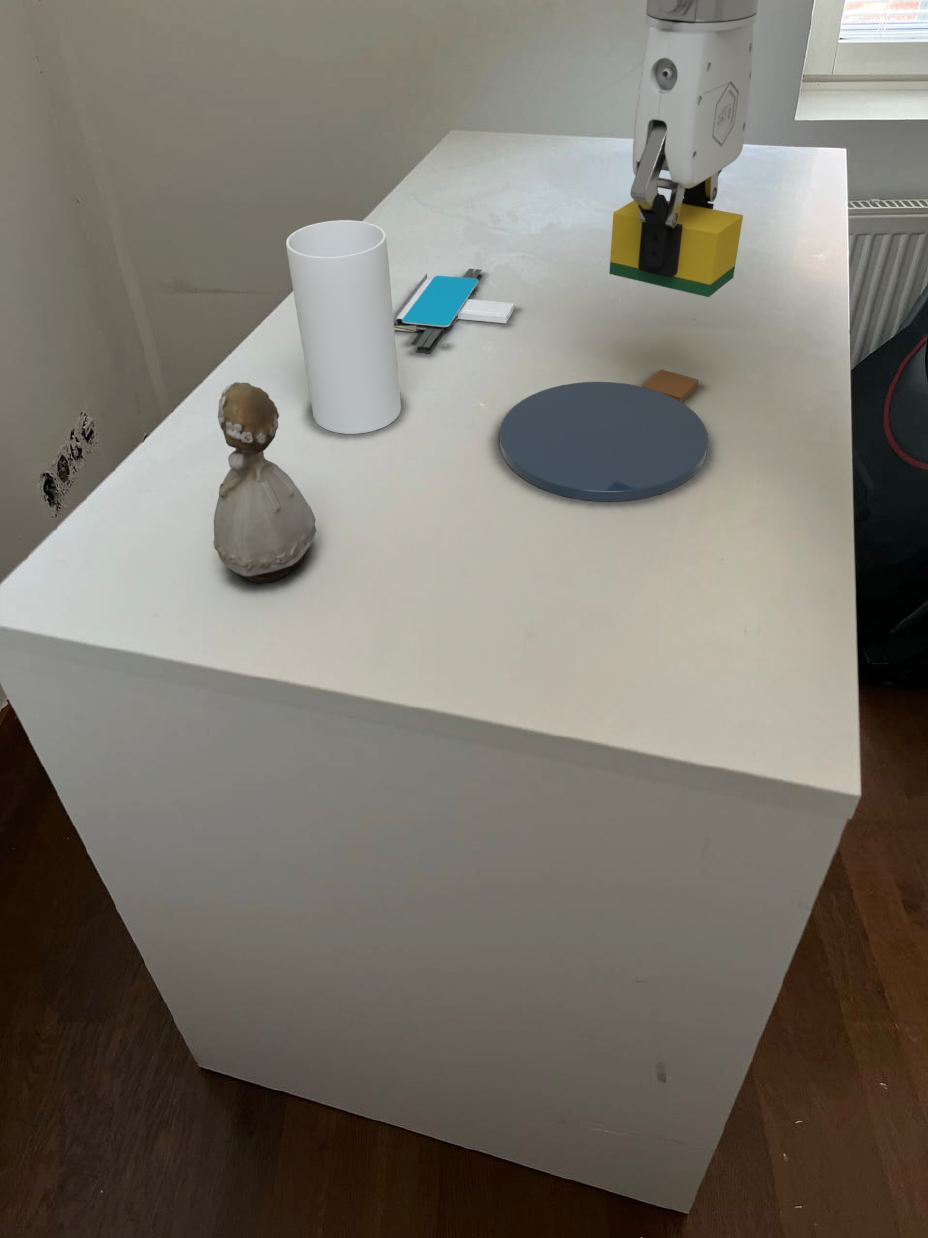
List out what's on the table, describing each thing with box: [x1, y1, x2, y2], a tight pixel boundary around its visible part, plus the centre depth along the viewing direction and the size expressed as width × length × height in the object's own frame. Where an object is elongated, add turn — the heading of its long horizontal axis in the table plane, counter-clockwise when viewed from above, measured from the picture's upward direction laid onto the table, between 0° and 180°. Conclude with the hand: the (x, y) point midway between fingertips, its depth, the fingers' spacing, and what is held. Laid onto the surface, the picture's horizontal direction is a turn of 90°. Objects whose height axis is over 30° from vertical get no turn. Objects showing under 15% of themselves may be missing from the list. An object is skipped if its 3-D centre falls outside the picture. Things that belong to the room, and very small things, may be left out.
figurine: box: [213, 381, 318, 584], centre depth 66 cm, size 8×7×15 cm
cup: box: [285, 219, 402, 435], centre depth 82 cm, size 8×8×16 cm
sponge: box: [608, 200, 744, 298], centre depth 76 cm, size 5×9×5 cm, turn 53°
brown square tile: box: [641, 368, 700, 403], centre depth 88 cm, size 4×4×1 cm
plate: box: [499, 381, 709, 502], centre depth 82 cm, size 18×18×1 cm
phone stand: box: [393, 268, 515, 354], centre depth 102 cm, size 20×12×2 cm, turn 164°
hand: (673, 259), depth 76 cm, fingers closed on sponge, 4 cm apart
